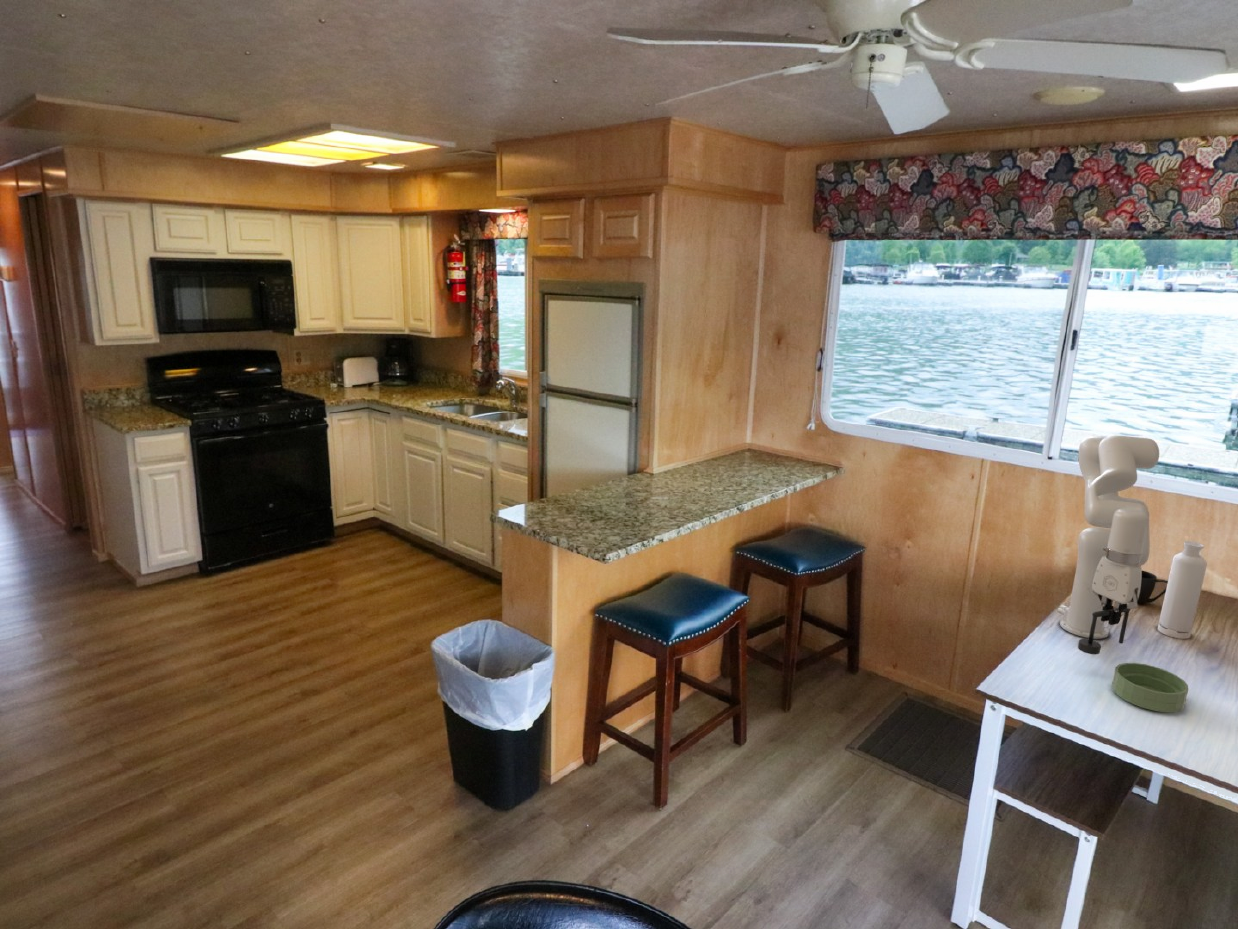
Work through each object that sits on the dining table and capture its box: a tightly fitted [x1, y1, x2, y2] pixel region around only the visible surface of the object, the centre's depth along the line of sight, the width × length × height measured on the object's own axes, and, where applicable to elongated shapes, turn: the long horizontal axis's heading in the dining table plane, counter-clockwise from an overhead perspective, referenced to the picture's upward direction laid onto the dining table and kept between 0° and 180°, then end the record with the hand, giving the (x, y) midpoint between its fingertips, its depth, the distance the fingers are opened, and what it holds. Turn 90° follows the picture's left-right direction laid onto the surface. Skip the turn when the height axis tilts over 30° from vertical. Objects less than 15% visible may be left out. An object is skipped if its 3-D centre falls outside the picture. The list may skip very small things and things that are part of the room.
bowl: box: [1111, 662, 1189, 713], centre depth 195 cm, size 15×15×6 cm
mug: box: [1137, 570, 1168, 606], centre depth 252 cm, size 8×12×10 cm
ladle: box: [1077, 609, 1132, 655], centre depth 206 cm, size 15×5×11 cm, turn 112°
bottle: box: [1157, 540, 1208, 640], centre depth 229 cm, size 8×8×28 cm
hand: (1109, 622), depth 206 cm, fingers closed on ladle, 1 cm apart
